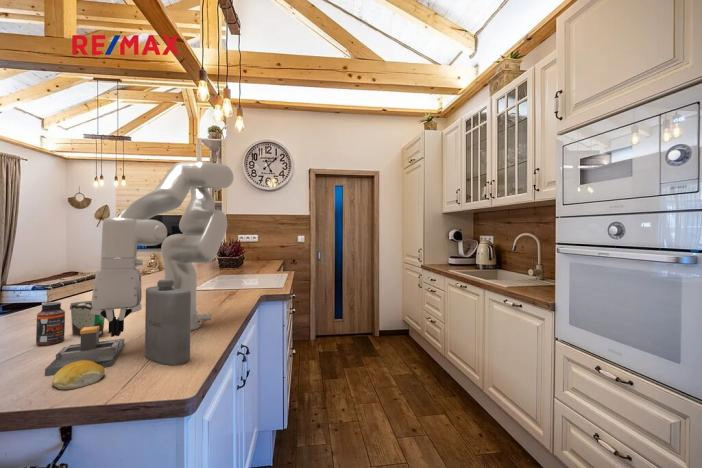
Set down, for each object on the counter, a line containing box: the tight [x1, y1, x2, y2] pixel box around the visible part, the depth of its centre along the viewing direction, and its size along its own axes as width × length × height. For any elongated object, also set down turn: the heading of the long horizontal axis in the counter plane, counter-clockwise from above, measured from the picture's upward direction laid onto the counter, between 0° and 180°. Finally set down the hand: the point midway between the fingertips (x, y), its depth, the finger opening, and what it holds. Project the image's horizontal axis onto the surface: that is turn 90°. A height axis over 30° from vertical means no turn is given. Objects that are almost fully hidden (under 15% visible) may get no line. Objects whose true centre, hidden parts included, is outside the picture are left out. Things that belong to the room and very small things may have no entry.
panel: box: [44, 338, 125, 377], centre depth 80 cm, size 12×17×3 cm
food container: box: [69, 300, 106, 338], centre depth 99 cm, size 12×6×10 cm, turn 71°
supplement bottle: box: [35, 301, 66, 346], centre depth 91 cm, size 6×6×11 cm
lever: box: [80, 326, 100, 350], centre depth 80 cm, size 3×3×6 cm
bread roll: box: [51, 360, 106, 390], centre depth 68 cm, size 8×9×4 cm
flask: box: [144, 278, 191, 366], centre depth 81 cm, size 15×6×20 cm, turn 60°
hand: (116, 335), depth 82 cm, fingers closed
